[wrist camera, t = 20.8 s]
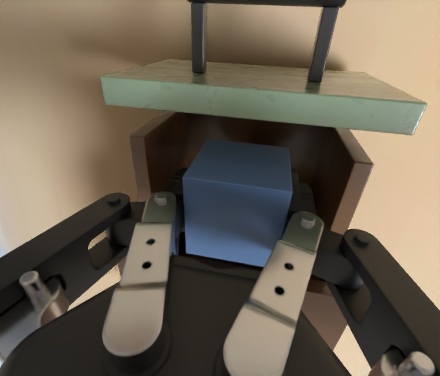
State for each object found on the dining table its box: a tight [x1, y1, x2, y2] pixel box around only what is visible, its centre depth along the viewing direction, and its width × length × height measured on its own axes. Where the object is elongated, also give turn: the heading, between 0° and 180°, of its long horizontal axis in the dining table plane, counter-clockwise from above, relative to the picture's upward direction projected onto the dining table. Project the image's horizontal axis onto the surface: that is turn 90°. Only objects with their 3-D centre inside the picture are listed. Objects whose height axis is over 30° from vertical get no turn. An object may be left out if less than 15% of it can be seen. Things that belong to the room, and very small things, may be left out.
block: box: [183, 139, 293, 267], centre depth 13 cm, size 4×4×4 cm
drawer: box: [100, 0, 427, 282], centre depth 16 cm, size 19×13×8 cm, turn 178°
